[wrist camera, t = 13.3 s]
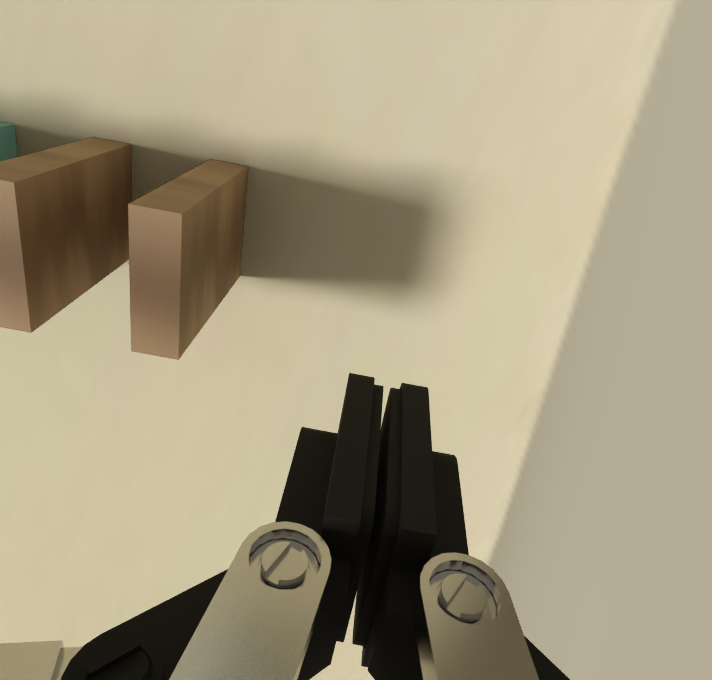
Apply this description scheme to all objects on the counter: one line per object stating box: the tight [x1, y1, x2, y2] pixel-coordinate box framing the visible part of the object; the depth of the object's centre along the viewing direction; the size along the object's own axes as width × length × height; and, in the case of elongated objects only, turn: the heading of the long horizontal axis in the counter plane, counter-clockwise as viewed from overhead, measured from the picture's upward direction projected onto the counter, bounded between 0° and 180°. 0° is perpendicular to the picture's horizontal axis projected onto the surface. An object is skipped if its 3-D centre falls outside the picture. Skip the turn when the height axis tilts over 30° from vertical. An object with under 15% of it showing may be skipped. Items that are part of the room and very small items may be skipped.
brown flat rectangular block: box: [128, 159, 248, 360], centre depth 21 cm, size 5×2×8 cm, turn 170°
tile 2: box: [0, 137, 132, 333], centre depth 21 cm, size 5×2×8 cm, turn 170°
